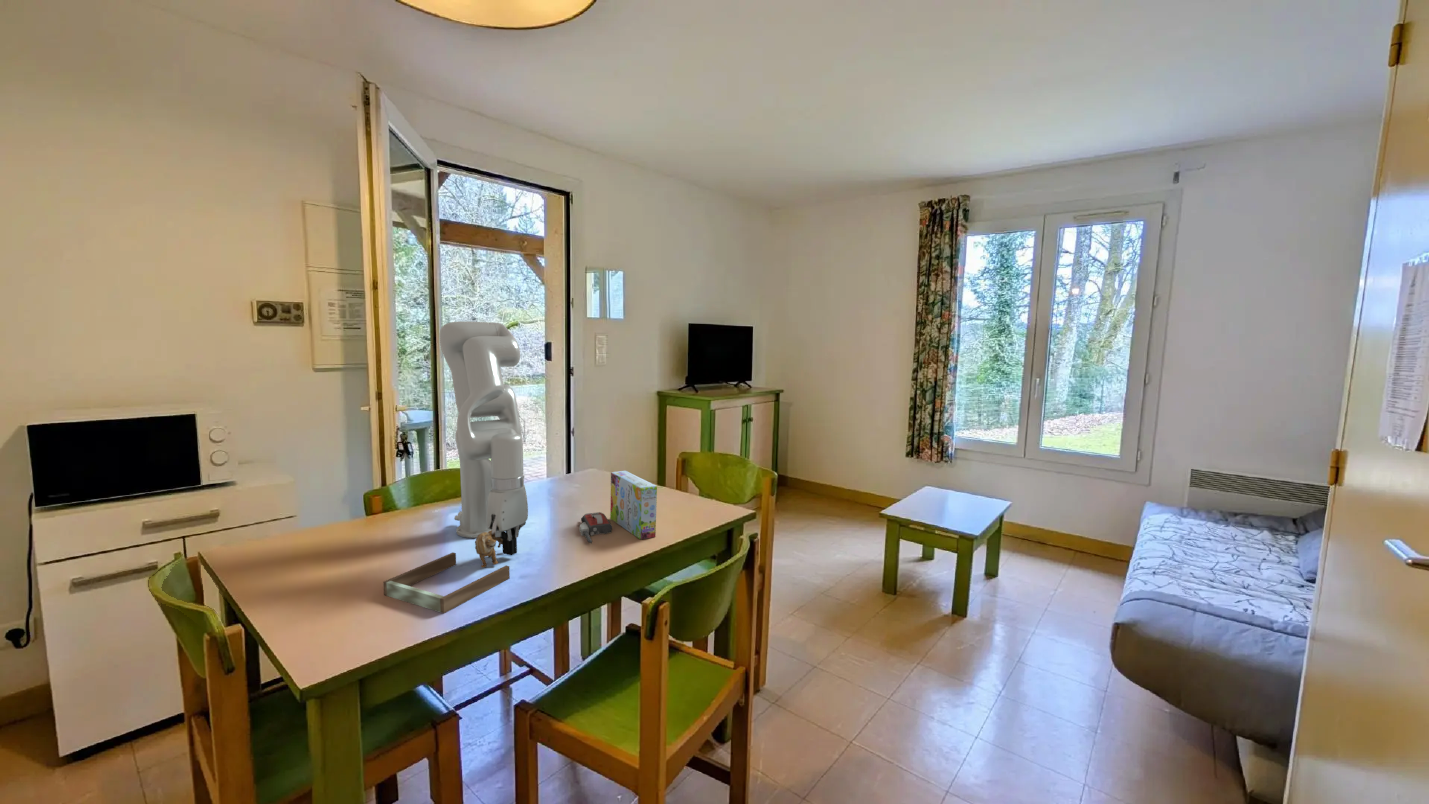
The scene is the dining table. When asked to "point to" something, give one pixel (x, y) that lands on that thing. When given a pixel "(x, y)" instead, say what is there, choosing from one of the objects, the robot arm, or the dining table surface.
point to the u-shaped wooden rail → (403, 591)
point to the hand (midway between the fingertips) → (509, 553)
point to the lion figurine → (487, 547)
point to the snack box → (633, 504)
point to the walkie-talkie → (594, 525)
